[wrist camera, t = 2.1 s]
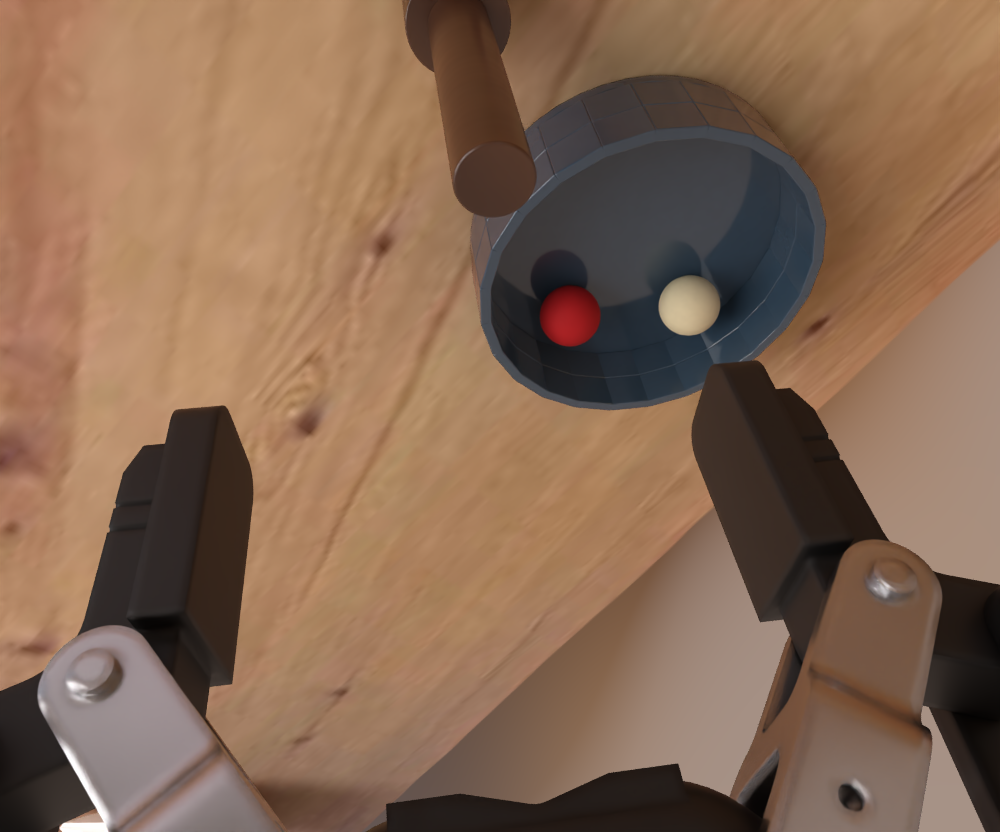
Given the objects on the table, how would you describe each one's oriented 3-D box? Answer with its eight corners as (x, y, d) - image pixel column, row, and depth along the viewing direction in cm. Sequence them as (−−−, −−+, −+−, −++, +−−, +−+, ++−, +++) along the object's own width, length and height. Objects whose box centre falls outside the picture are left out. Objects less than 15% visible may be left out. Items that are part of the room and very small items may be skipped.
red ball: (566, 262, 36) (579, 301, 34) (605, 293, 38) (618, 332, 36) (523, 300, 38) (532, 340, 36) (561, 328, 39) (572, 367, 37)
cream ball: (688, 252, 37) (707, 290, 35) (720, 283, 38) (740, 321, 36) (640, 290, 38) (656, 329, 36) (673, 318, 40) (690, 356, 38)
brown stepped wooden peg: (443, -103, 25) (494, 79, 16) (513, -27, 27) (595, 175, 18) (380, -20, 27) (392, 189, 17) (450, 46, 29) (495, 265, 19)
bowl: (663, -11, 28) (699, 36, 25) (840, 217, 37) (882, 272, 34) (403, 252, 35) (407, 313, 32) (604, 389, 44) (622, 447, 41)
